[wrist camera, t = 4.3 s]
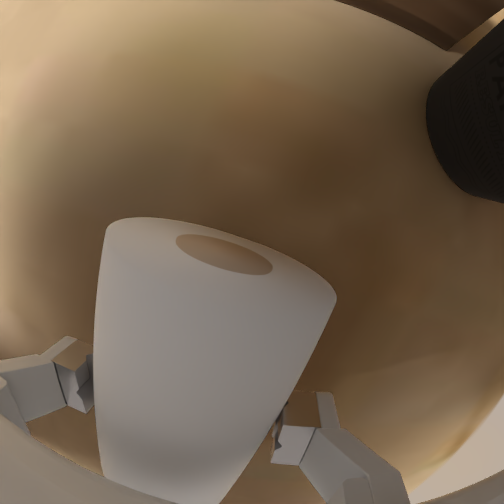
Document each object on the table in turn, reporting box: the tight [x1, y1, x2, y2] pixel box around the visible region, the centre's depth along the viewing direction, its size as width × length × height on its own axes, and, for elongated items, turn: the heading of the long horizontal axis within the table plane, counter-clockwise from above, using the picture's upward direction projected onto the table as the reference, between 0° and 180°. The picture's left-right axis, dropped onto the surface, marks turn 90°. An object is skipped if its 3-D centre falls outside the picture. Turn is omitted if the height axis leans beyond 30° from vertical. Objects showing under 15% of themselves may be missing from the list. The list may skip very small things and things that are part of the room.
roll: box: [93, 217, 337, 504], centre depth 7 cm, size 9×5×5 cm
